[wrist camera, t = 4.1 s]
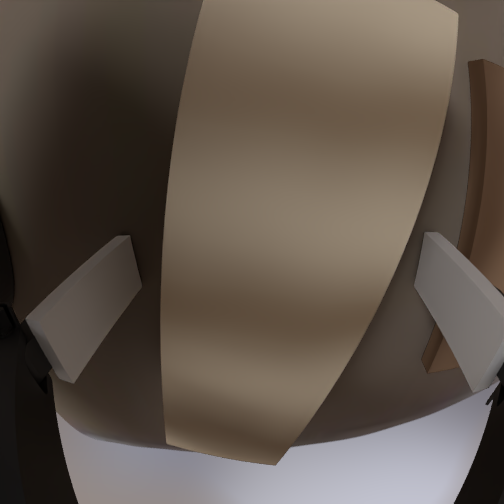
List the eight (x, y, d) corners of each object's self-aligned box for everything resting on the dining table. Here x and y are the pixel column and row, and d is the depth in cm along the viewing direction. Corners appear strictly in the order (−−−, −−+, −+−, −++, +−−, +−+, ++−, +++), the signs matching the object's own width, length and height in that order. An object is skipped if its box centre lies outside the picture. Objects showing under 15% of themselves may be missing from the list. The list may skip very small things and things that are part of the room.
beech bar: (279, 398, 17) (275, 465, 13) (187, 379, 17) (166, 443, 13) (394, 46, 8) (458, 13, 4) (245, 8, 8) (221, -54, 4)
